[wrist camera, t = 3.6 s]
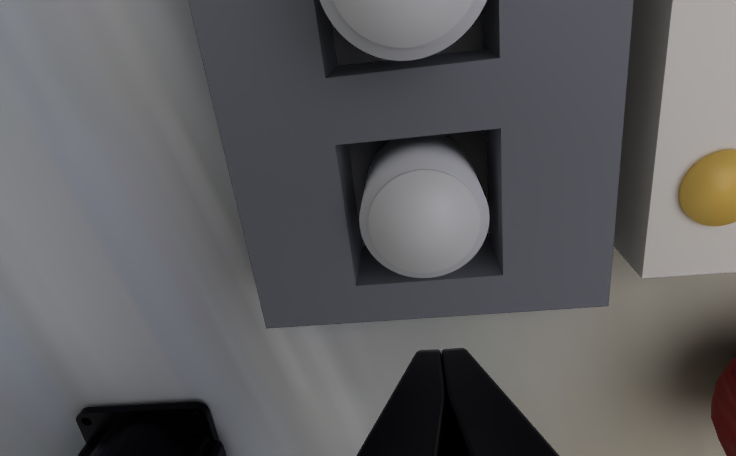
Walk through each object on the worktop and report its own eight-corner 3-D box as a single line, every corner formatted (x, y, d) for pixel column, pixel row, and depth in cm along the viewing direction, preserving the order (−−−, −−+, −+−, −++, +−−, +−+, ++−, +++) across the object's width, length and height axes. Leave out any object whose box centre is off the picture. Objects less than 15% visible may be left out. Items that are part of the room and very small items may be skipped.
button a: (372, 237, 20) (367, 285, 17) (360, 137, 18) (350, 168, 15) (476, 228, 20) (491, 276, 16) (472, 125, 18) (489, 154, 15)
